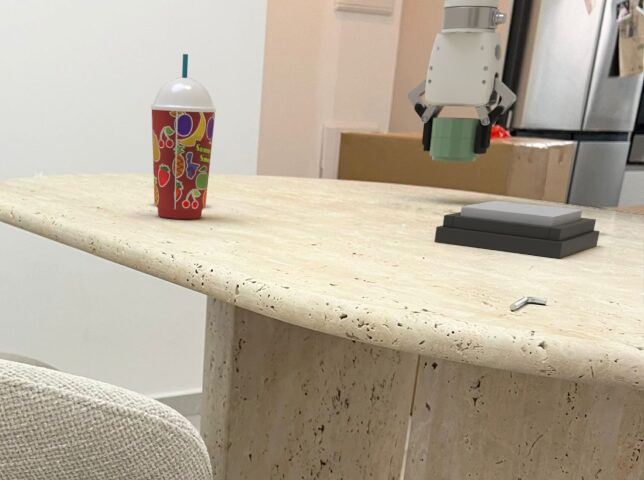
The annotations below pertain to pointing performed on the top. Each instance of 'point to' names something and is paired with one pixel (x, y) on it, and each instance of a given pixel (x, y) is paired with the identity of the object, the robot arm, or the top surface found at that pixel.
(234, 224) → the top surface
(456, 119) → the green stacked cylinder
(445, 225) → the scale
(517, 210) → the pan
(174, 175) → the smoothie
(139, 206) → the top surface
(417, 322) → the top surface
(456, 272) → the top surface
